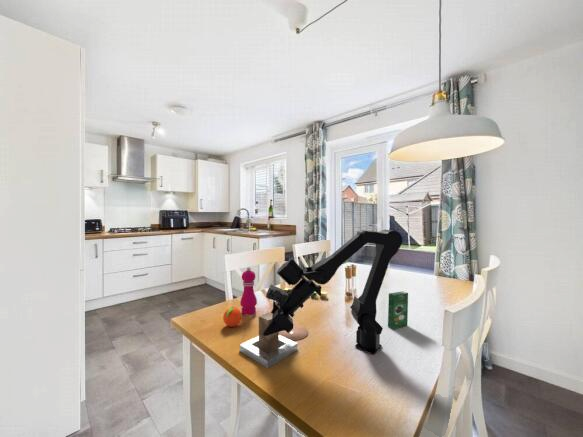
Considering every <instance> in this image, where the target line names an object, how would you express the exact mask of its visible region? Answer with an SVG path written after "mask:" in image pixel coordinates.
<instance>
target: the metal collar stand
mask: <svg viewBox="0 0 583 437" xmlns="http://www.w3.org/2000/svg"><path fill="white" fill-rule="evenodd" d="M297 350H298V342H296V341H295V340H289V339H287V338H285V337H283V336H281V335H279V348H278V349H276V350H274V351H273V352H271V353H269V354H267V353H265V352H264V351H262V350H260V349H259V335H257V336H255V337H253V338H250V339H249V340H247V341H244V342H242V343H241V344H239V352H240V353H242V354H244V355H246V356H247V357H249V358H250V359H252V360H254V361H255V362H257V363H258V364H260V365H262V366H263V367H264V368H267V369H269V368H271V366H274V365H275V364H276V363H278V362H280V361H282V360H283V359H285V358H286V357H288V356H289V355H291V354H292V353H295V352H296V351H297Z"/></svg>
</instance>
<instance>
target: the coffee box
mask: <svg viewBox="0 0 583 437" xmlns="http://www.w3.org/2000/svg"><path fill="white" fill-rule="evenodd" d="M387 308H388V313H387V327H388V328H389V329H391V330H396V329H399V328H404V327H407V326H408V313H409V312H408V311H409V293H408V292H407V291H395V292H389V293H388V306H387Z"/></svg>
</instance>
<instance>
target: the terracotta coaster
mask: <svg viewBox="0 0 583 437" xmlns="http://www.w3.org/2000/svg"><path fill="white" fill-rule="evenodd" d="M308 334H309V331H308V329H307V328H306V327H304V325H298V324H293V329H292V330H291V331H290V332H289V333H287V332H286V331H285V330H284V331H280V332H279V335H281V336H283V337H285V338H287V339H289V340H292V341H299V340H303V339H305V338H306V337H307V336H308Z"/></svg>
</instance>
